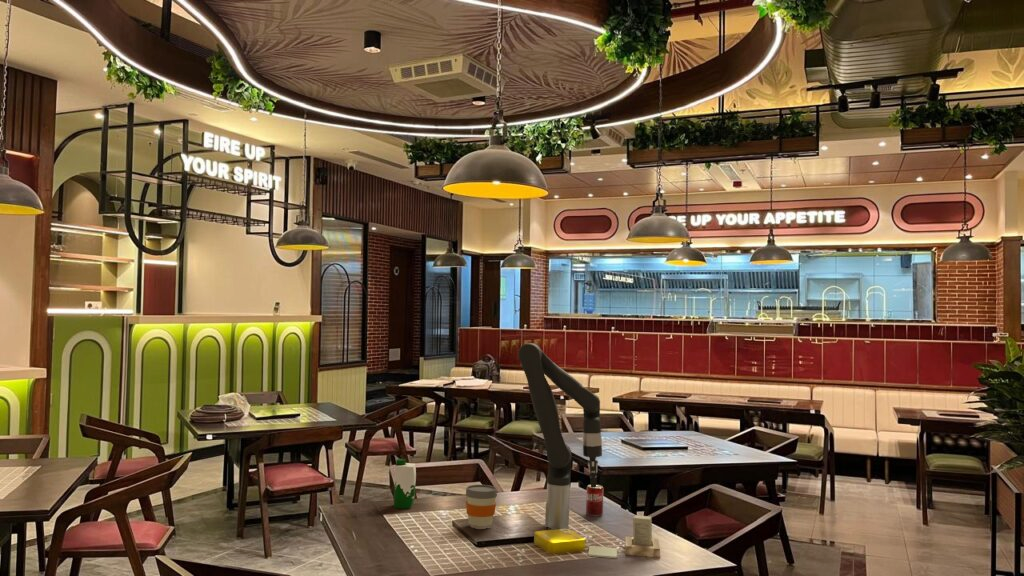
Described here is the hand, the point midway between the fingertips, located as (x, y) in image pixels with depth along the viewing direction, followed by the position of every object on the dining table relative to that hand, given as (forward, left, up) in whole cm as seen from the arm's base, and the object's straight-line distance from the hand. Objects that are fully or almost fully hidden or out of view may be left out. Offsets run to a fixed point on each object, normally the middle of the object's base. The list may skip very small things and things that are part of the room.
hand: (593, 485), depth 284 cm
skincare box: (+19, -23, -18) cm, 34 cm away
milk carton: (-82, +13, -18) cm, 85 cm away
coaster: (+5, -29, -18) cm, 34 cm away
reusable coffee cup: (-44, -8, -18) cm, 48 cm away
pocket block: (+19, -23, -18) cm, 34 cm away
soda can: (0, +24, -18) cm, 30 cm away
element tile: (-11, -25, -18) cm, 32 cm away
